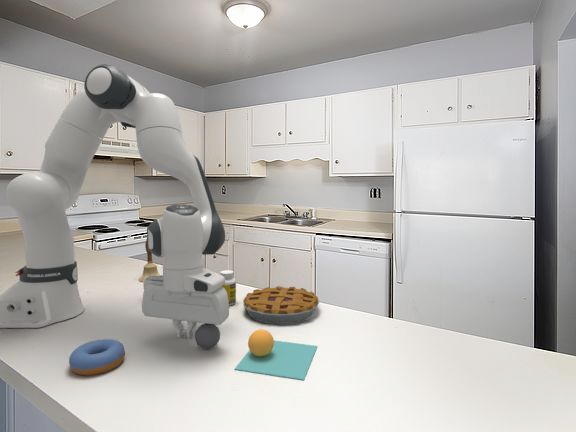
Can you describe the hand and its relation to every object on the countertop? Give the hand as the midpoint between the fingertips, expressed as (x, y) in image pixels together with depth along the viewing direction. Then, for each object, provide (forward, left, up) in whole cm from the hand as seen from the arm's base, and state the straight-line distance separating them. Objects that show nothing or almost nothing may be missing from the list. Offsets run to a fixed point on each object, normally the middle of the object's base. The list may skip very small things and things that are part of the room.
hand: (185, 337), depth 80 cm
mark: (+20, -10, -2) cm, 22 cm away
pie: (+25, +17, -2) cm, 30 cm away
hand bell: (-17, +58, -2) cm, 60 cm away
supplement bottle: (+10, +26, -2) cm, 28 cm away
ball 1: (+5, -2, +1) cm, 6 cm away
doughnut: (-17, -5, -2) cm, 18 cm away
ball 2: (+16, -8, +1) cm, 18 cm away
